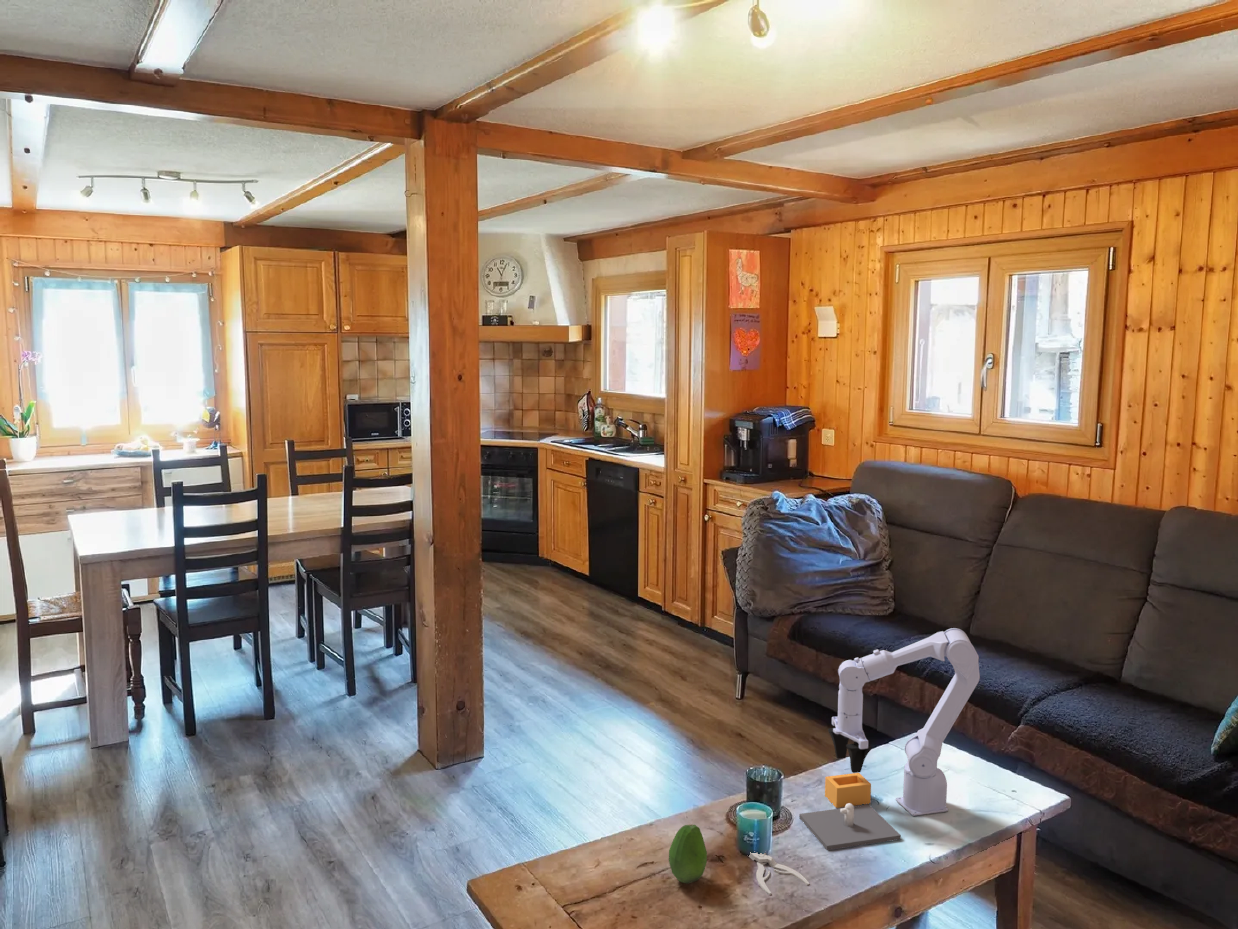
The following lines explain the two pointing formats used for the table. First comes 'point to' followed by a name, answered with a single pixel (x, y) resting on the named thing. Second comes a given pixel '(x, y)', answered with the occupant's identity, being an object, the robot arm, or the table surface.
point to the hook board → (849, 827)
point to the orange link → (847, 790)
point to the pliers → (766, 859)
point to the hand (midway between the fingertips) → (848, 764)
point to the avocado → (688, 854)
